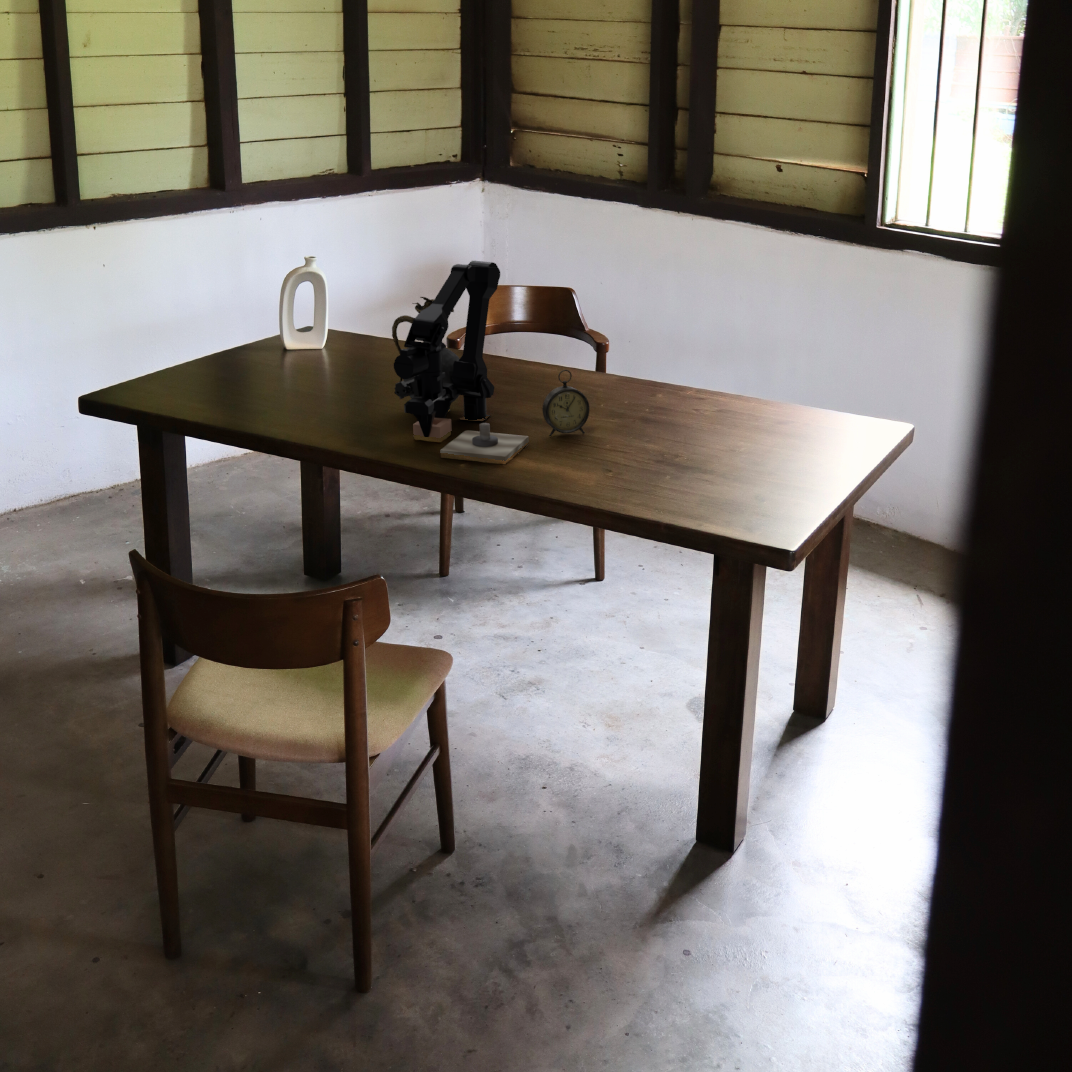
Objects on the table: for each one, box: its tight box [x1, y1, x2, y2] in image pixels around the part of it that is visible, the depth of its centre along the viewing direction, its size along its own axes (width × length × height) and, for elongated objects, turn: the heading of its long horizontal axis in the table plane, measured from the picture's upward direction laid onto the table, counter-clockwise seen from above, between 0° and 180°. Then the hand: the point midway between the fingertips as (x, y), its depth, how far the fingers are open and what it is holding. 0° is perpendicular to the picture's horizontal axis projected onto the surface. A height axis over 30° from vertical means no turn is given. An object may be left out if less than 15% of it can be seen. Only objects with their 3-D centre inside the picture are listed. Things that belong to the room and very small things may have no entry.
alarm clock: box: [541, 369, 591, 437], centre depth 286 cm, size 11×5×16 cm, turn 105°
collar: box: [412, 417, 453, 438], centre depth 287 cm, size 7×7×4 cm
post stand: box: [439, 422, 530, 461], centre depth 276 cm, size 16×16×6 cm
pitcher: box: [391, 296, 460, 409], centre depth 303 cm, size 11×19×30 cm, turn 70°
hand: (432, 432), depth 287 cm, fingers closed on collar, 7 cm apart
